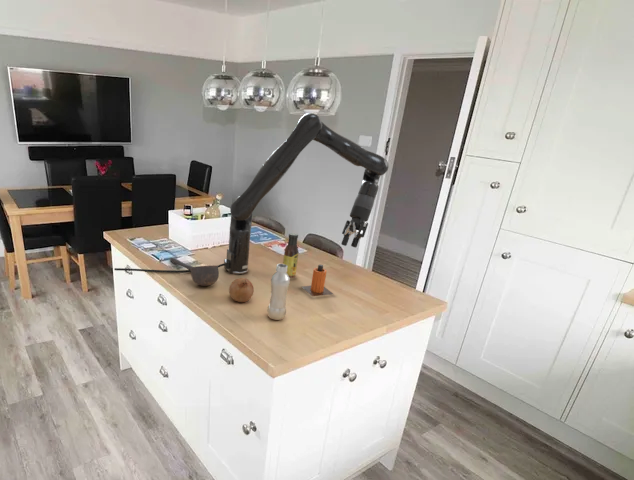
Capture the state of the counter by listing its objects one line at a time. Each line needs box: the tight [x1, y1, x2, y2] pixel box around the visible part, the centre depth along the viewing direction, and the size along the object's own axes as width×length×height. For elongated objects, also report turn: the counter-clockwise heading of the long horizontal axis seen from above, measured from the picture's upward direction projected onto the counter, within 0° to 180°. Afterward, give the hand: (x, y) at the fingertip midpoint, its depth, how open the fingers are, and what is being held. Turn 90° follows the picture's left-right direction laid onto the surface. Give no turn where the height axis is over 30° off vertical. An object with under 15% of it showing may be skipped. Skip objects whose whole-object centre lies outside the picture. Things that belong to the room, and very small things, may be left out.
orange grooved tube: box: [310, 267, 327, 293], centre depth 171 cm, size 5×5×9 cm
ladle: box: [169, 257, 220, 287], centre depth 181 cm, size 12×38×10 cm, turn 35°
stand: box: [301, 264, 334, 297], centre depth 171 cm, size 10×10×12 cm
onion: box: [228, 277, 255, 303], centre depth 159 cm, size 10×9×10 cm
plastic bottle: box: [266, 263, 291, 321], centre depth 145 cm, size 6×7×20 cm
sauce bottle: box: [282, 232, 300, 279], centre depth 183 cm, size 6×6×20 cm
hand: (348, 246), depth 170 cm, fingers open, 8 cm apart
